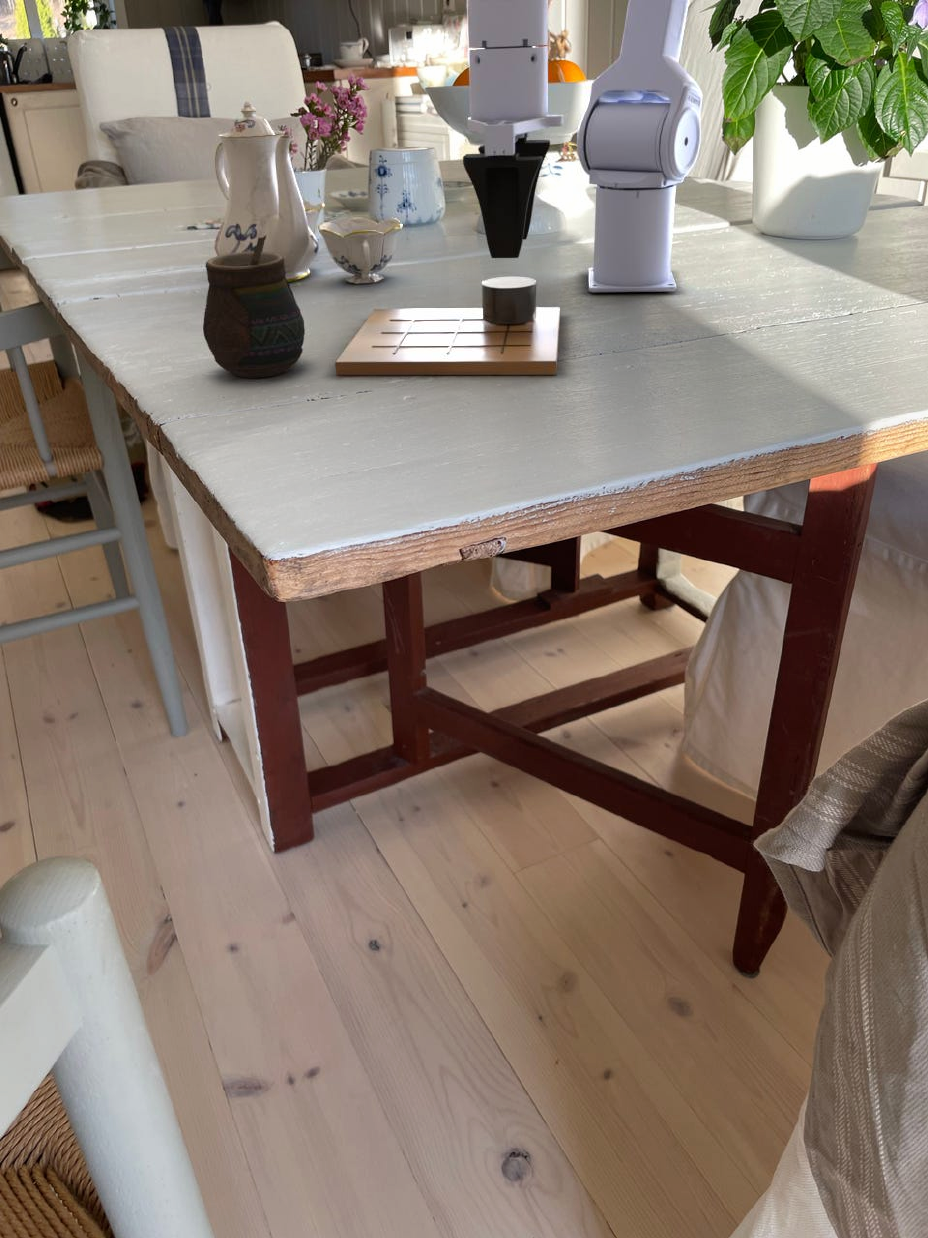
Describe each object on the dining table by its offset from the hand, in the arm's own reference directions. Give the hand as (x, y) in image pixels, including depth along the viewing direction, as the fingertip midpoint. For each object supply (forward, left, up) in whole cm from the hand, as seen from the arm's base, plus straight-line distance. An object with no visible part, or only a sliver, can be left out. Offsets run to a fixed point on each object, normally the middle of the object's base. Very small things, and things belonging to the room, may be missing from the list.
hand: (509, 247), depth 77 cm
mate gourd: (+11, -18, -7) cm, 22 cm away
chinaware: (-25, -25, -7) cm, 36 cm away
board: (+4, -4, -6) cm, 9 cm away
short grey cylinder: (0, 0, -5) cm, 5 cm away
